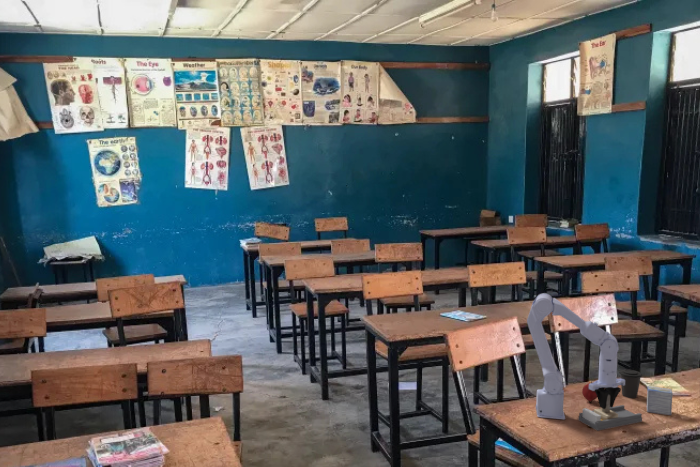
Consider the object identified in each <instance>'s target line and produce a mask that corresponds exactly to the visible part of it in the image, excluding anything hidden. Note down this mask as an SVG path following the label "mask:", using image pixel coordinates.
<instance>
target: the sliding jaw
mask: <svg viewBox="0 0 700 467" xmlns="http://www.w3.org/2000/svg"><path fill="white" fill-rule="evenodd" d="M593 410H594V412H595V413H596V414H598V415H600V416H601V419H603V420H607V419H612V418H617V417H618V414H617V413H615V412H613V411H611V410H610V395H608V397H607V403H606V409H603V408H601V407H599V408H596V409H595V408H594V409H593Z"/></svg>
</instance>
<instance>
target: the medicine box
mask: <svg viewBox="0 0 700 467" xmlns="http://www.w3.org/2000/svg"><path fill="white" fill-rule="evenodd" d="M646 390H647V393H646V412H647V413H652V414H659V415H666V416H667V415H668V416H672V408H673V396H674V395H673V391H672V389H671V388H668V387H667V388H665V387H661V386H660V387H658V386H651V385H648V386H647V389H646Z"/></svg>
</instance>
